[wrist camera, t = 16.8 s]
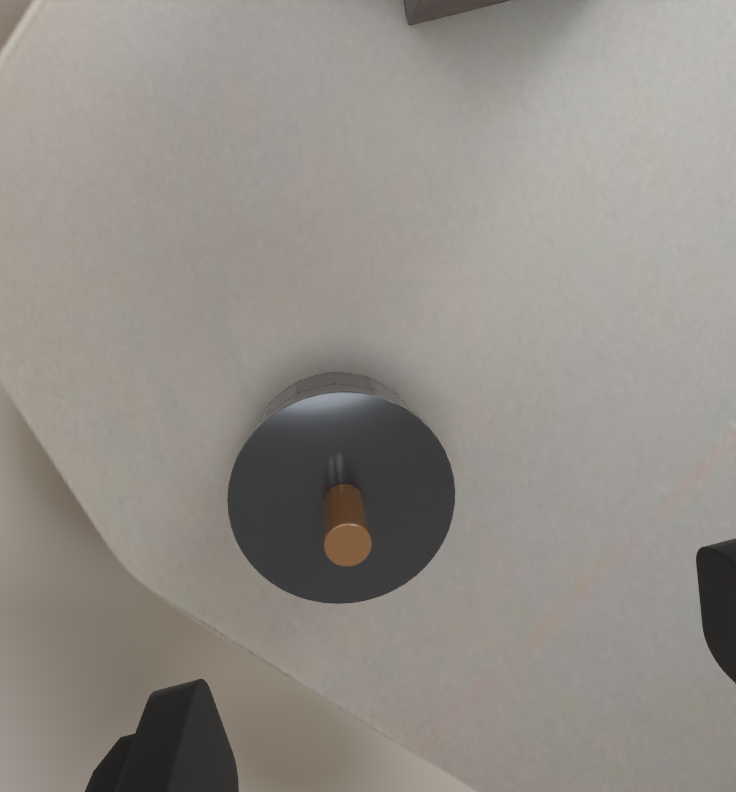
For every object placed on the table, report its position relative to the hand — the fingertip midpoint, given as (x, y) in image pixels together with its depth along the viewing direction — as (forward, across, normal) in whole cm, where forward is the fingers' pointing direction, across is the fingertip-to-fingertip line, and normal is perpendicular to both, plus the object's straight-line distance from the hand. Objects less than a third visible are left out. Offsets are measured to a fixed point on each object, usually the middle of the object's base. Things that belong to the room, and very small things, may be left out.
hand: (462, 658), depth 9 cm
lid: (+21, +2, +6) cm, 22 cm away
